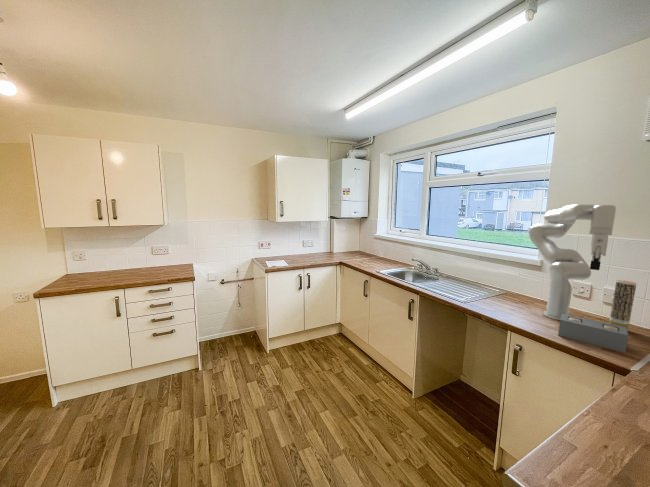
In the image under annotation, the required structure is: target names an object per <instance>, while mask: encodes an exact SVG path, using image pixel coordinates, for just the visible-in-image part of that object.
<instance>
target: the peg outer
mask: <svg viewBox="0 0 650 487" xmlns="http://www.w3.org/2000/svg"><path fill="white" fill-rule="evenodd" d="M604 328H607V329H612V330H616V331H618V329H617V328H615V327H612V326H604Z"/></svg>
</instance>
